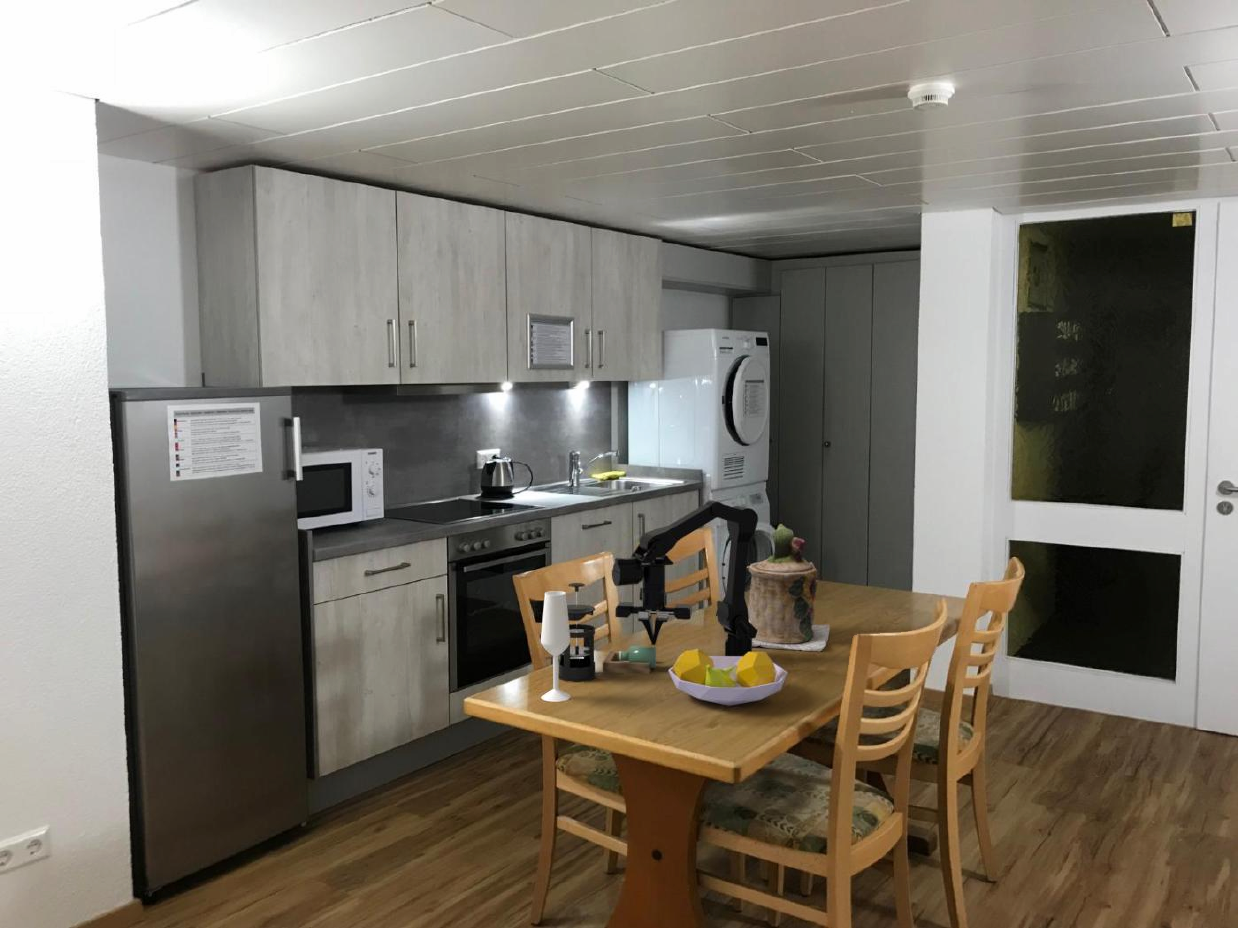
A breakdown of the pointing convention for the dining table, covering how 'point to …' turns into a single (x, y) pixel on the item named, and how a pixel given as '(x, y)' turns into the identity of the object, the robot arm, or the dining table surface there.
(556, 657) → the champagne flute
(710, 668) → the fruit bowl
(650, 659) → the bottle
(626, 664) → the shallow wooden tray
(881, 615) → the dining table surface
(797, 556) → the cookie jar
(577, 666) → the french press
